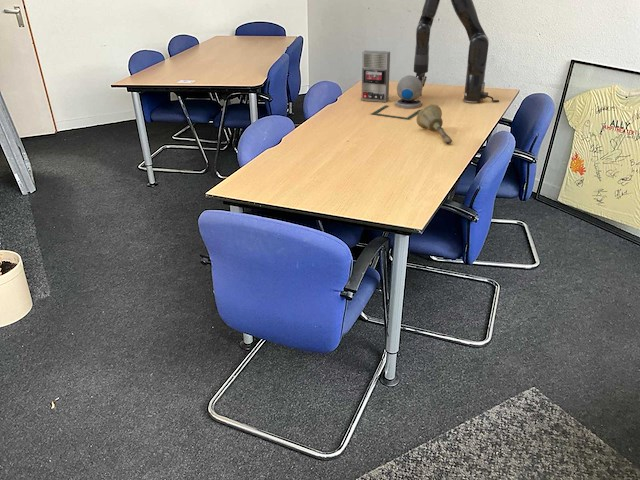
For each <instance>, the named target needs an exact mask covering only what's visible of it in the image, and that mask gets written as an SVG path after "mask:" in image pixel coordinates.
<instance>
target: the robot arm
mask: <svg viewBox="0 0 640 480" xmlns="http://www.w3.org/2000/svg"><path fill="white" fill-rule="evenodd" d="M440 3H441V0H424V4H423V7H422V10H421V14H420V15H421V16H420V18H419V21H418V24H417V26H416V30H415V51H414V58H413V72H414V73H415V77H417V78H418V79H419V80H420V81H421V83H422V90H423V88H424V87H425V85H426V81H427V78H428V77H427V75H426V73H427V74H428V72H429V65H430V64H429V63H430V38H431V29H432V26H433V23H434V19H435V17H436V15H437V12H438V8H439V6H440ZM450 3H451V5H452V8H453V10H454V13H455V14H456V17H457V18H458V20H459V21H460V23H461V25H462V26H463V28H464V29H465V32H466V34H467V38H468V41H469V45H468V52H467V53H468V55H467V64H466V65H467V66H466V77H465V84H464V92H463V102H464V103H468V104H480V103H482V102H483V101H484V100H486V99H487V98H489V99H491V101H492V102H493V103H499V102H500V100H499V99H496V100H495V99H494V98H493V96H491V95H489V92H486V91H485V86H486V82H485V77H486V68H487V61H488V53H489V46H490V45H489V44H490V40H489V38H488V37H489V36H487V34H486V32H485V30H484V29H483V26H482V25H481V23H480V20H479V16H478V13H477V10H476V6H475V4H474V0H450ZM422 94H423V92H422V93H421V95H420V96H419V97H421V96H422Z"/></svg>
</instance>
